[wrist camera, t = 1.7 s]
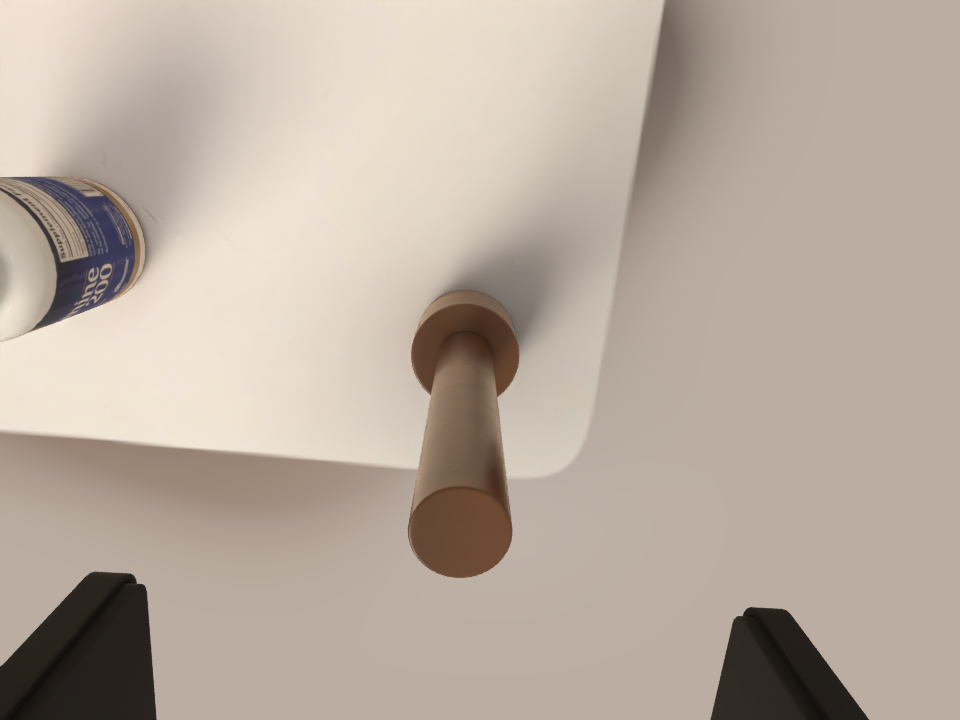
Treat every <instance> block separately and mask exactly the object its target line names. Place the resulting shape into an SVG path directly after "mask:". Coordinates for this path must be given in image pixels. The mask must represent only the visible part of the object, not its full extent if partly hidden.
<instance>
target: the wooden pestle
mask: <svg viewBox="0 0 960 720" xmlns="http://www.w3.org/2000/svg"><path fill="white" fill-rule="evenodd" d="M411 360H412V366H413V370H414V373H415V375H416V377H417V379H418V381H419V383H420V384H421V385H422V387H423V388H424V389H425V390H426V391H427V392H428V393H429V394H430V395H431V398H430V404H429V410H428V416H427V421H426V427H425V433H424V439H423V444H422V450H421V456H420V462H419V467H418V473H417V479H416V485H415V490H414V496H413V502H412V507H411V513H410V519H409V525H408V538H409V542H410V545H411V548H412V550H413V552H414V554H415V555H416V557H417V558H418V559H419V560H420V561H421V562H422V563H423V564H424V565H425V566H426V567H427V568H429V569H430V570H432V571H434V572H436V573H438V574H441V575H444V576H448V577H455V578H465V577H472V576H476V575H479V574H482V573H484V572H486V571H488V570H490V569H491V568H493V567H494V566H495V565H497V564H498V563H499V561H501V559H502V558H503V557H504V555H505V554H506V553H507V551H508V549H509V546H510V543H511V539H512V522H511V514H510V505H509V496H508V488H507V479H506V470H505V462H504V453H503V444H502V435H501V427H500V418H499V409H498V401H497V397H498V396H499V395H501V394H502V393H503V392H504V391H505V390H506V389H507V387H508V386H509V385H510V383H511V382H512V380H513V378H514V376H515V374H516V371H517V368H518V363H519V347H518V343H517V339H516V335H515V331H514V327H513V324H512V321H511V319H510V317H509V315H508V313H507V312H506V310H505V309H504V308H503V306H502V305H501V304H500V303H498V302H497V301H496V300H495V299H493V298H492V297H490V296H488V295H486V294H483V293H480V292H477V291H470V290H461V291H455V292H451V293H448V294H445V295H443V296H441V297H440V298H438V299H437V300H435V301H434V302H433V303H432V304H431V305H430V306H429V307H428V308H427V309H426V311H425V312H424V314H423V315H422V317H421V320H420V322H419V325H418V328H417V331H416V334H415V337H414V340H413V344H412V350H411Z"/></svg>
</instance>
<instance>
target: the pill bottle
mask: <svg viewBox="0 0 960 720" xmlns="http://www.w3.org/2000/svg"><path fill="white" fill-rule="evenodd" d="M144 261H145V243H144V237H143V233H142V230H141V227H140V225H139V223H138V221H137V218H136V217H135V215H134V214H133V212H132V211H131V209H130V208H129V207H128V206H127V204H126V203H125V202H124V201H123V200H122V199H121V198H120V197H118V196H117V195H116V194H115V193H113V192H112V191H111V190H109V189H108V188H106V187H104V186H102V185H100V184H98V183H95V182H93V181H90V180H87V179H82V178H75V177H55V176H54V177H0V342H2V341H6V340H9V339H12V338H15V337H18V336H21V335H24V334H26V333H29V332H31V331H34V330H37V329H39V328H42V327H45V326H48V325H50V324H53V323H56V322H59V321H62V320H64V319H66V318H69V317H72V316H74V315H77V314H79V313H82V312H84V311H87V310H90V309H92V308H95V307H97V306H100V305H103V304H105V303H107V302H110V301H112V300H114V299H116V298H118V297H120V296H122V295H123V294H125V293H126V292H127V291H128V290H129V289H130V288H131V287H132V286H133V285H134V284H135V282H136V280H137V278H138V277H139V276H140V274H141V272H142V269H143V266H144Z"/></svg>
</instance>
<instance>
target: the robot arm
mask: <svg viewBox="0 0 960 720" xmlns="http://www.w3.org/2000/svg"><path fill="white" fill-rule="evenodd" d="M0 720H156V706H155V693H154V680H153V668H152V654H151V641H150V627H149V614H148V601H147V591H146V587H145V586H144V585H143V584H137V582H136V579H135V577H134V575H132V574H127V573H110V572H109V573H108V572H92V573H90V574H89V575H87V576H86V577H85V578H84V579H83V580H82V581H81V582H80V583H79V584H78V585H77V587H76V588H75V589H74V590H73V591H72V592H71V593H70V594H69V595H68V596H67V597H66V598H65V599H64V600H63V601H62V602H61V603H60V605H59V606H58V607H57V608H56V609H55V610H54V611H53V612H52V613H51V614H50V615H49V616H48V617H47V618H46V620H44V622H43V623H42V624H41V625H40V626H39V627H38V628H37V629H36V630H35V631H34V632H33V633H32V634H31V635H30V637H29V638H28V639H27V640H26V641H25V642H24V643H23V644H22V645H21V646H20V647H19V648H18V649H17V650H16V651H15V652H14V653H13V655H12V656H11V657H10V658H9V659H8V660H7V661H6V662H5V663H4V664H3V665H2V666H1V667H0ZM711 720H869V719H868V718H867V716H866V715H865V714H864V712H863V711H862V710H861V708H860V707H859V706H858V704H857V703H856V702H855V700H854V699H853V697H852V696H851V695H850V693H849V692H848V691H847V689H846V688H845V687H844V685H843V684H842V683H841V681H840V680H839V679H838V677H837V676H836V675H835V674H834V672H833V671H832V669H831V668H830V667H829V665H828V664H827V662H826V661H825V660H824V658H823V657H822V656H821V654H820V653H819V652H818V650H817V649H816V648H815V647H814V645H813V644H812V642H811V641H810V640H809V638H808V637H807V636H806V634H805V633H804V632H803V630H802V629H801V627H800V626H799V625H798V623H797V622H796V621H795V620H794V618H793V617H792V615H791V614H790V613H789V612H788V611H786V610H783V609H773V608H755V607H750V608H747V609H746V611H745V612H744V614H743V616H738V617H736V618H735V619H734V621H733V624H732V629H731V633H730V637H729V642H728V646H727V650H726V655H725V659H724V664H723V668H722V672H721V677H720V681H719V686H718V690H717V694H716V699H715V703H714V707H713V712H712V717H711Z"/></svg>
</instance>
